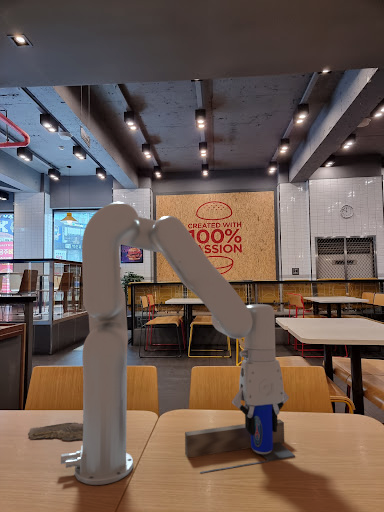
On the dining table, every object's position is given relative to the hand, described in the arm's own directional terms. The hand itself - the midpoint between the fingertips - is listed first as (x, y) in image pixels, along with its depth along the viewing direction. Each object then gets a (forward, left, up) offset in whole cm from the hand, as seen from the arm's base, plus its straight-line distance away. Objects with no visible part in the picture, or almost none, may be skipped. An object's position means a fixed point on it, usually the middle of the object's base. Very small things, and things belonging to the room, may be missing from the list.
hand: (261, 430), depth 81 cm
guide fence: (-5, 0, -5) cm, 7 cm away
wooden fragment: (-45, +26, -6) cm, 52 cm away
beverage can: (0, 0, -5) cm, 5 cm away
